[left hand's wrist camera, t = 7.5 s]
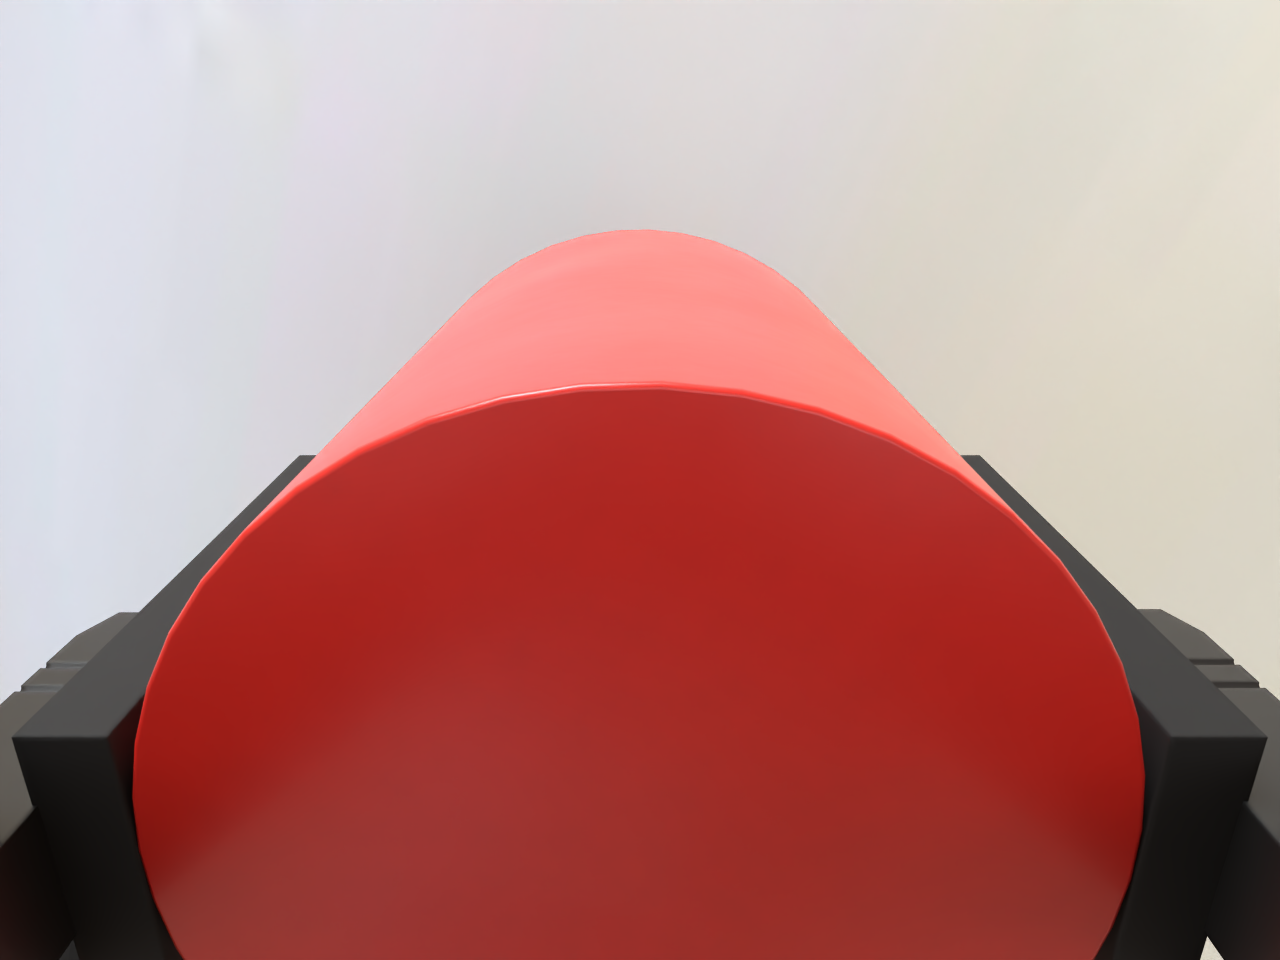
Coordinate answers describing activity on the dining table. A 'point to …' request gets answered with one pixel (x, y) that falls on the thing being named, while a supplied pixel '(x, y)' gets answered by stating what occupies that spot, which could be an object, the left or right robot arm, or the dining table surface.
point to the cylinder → (638, 660)
